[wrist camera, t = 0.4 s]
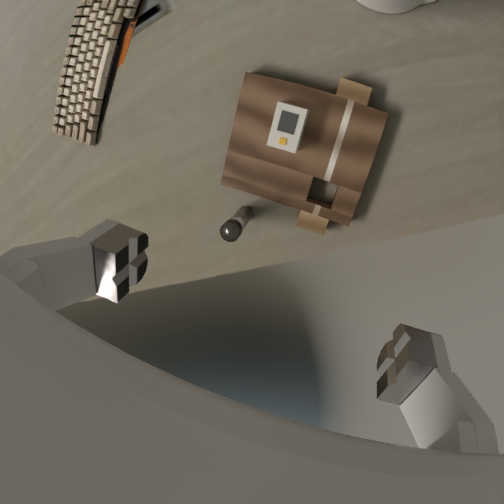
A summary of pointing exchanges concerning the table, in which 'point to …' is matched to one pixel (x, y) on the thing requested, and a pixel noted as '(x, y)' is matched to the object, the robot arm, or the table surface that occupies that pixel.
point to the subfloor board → (305, 147)
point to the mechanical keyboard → (93, 65)
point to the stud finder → (287, 127)
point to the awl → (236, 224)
